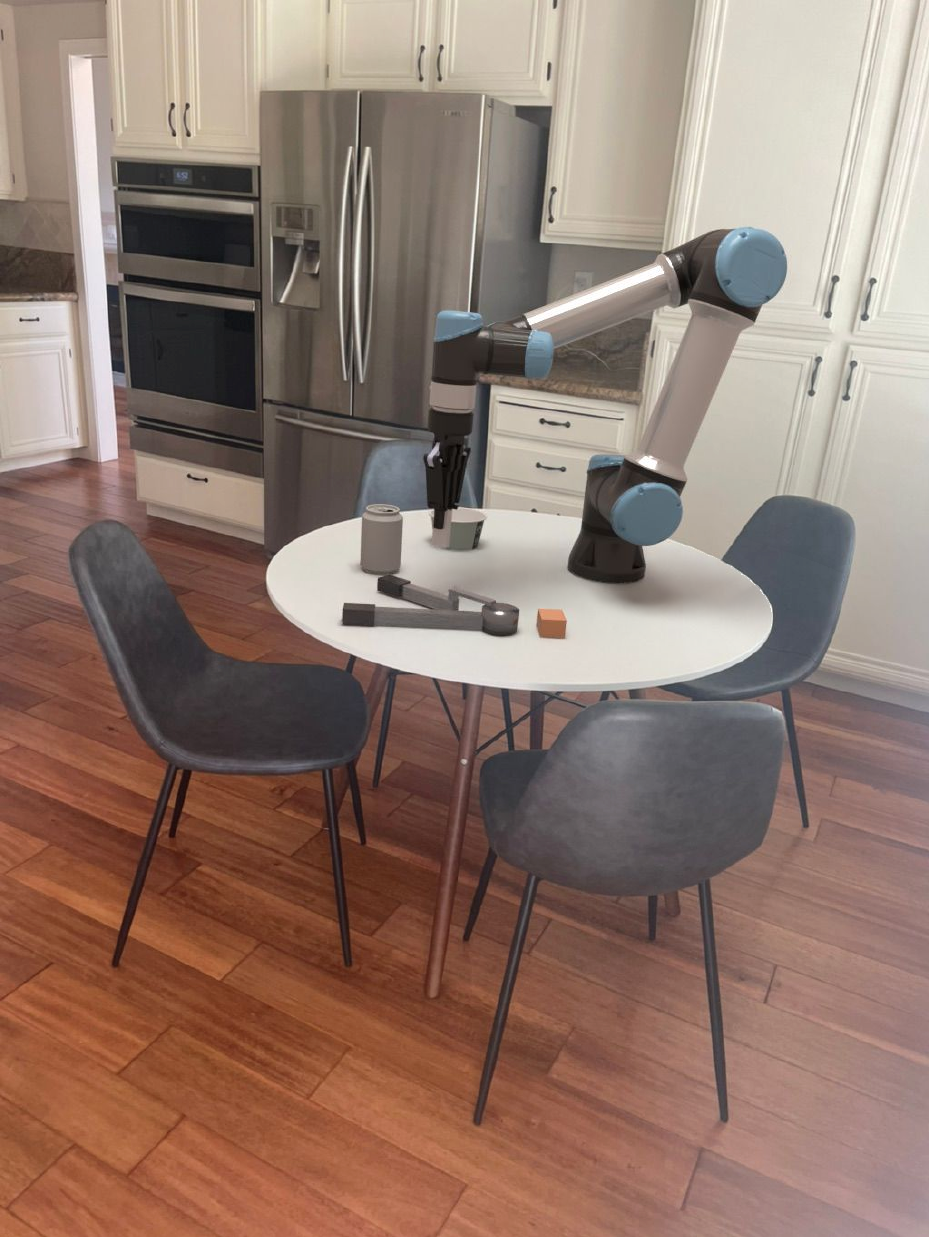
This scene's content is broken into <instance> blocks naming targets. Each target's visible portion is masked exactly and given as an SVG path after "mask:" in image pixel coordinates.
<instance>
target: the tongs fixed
mask: <svg viewBox="0 0 929 1237" xmlns="http://www.w3.org/2000/svg"><path fill="white" fill-rule="evenodd" d="M519 616H520V609H519V608H518V607H517V606H515V605H514V604H510V603H506V602H496V604H494V605H492V606H489V605H486V604H483V605H482V607H481V611H475V610H474V611H473V610H471V611H470V610H459V611H455V610H437V609H434V608H431V609H429V608H410V607H408V608H407V607H394V606H393V607H391V606H390V607H389V606H376V604H374V603H359V602H357V603H356V602H343V606H342V616H341V618H342V619H341V626H350V627H351V626H352V627H367V628H369V627H370V628H371V627H395V628H415V629H416V628H417V629H419V628H420V629H437V630H438V629H439V630H458V631H459V630H460V631H475V632H476V631H477V632H478V631H479V632H480V631H482V633H484V634H487V635H490V636H494V637H510V636H514V635H516V634H517V633H518V630H519V629H518V628H519V627H518V626H519V618H520V617H519Z"/></svg>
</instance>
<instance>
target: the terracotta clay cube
mask: <svg viewBox="0 0 929 1237" xmlns="http://www.w3.org/2000/svg"><path fill="white" fill-rule="evenodd" d="M567 622H568V620H567V618H566V616H565V613H564V611H563V609H556V608H555V609H554V608H553V609H552V608H537V615H536V623H535V624H536V625H535V626H536V629H537V632H538V636H539V638H550V639H551V638H556V639H566V632H567Z"/></svg>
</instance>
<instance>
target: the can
mask: <svg viewBox="0 0 929 1237" xmlns="http://www.w3.org/2000/svg"><path fill="white" fill-rule="evenodd" d="M400 509H401V508H400V507H398V506H396V505H391V504H384V503H382V504H381V503H379V504H376V503H375V504H369V505H367V506H366V507H365V512H363V513H362V515H361V532H360V533H361V534H360V535H361V537H360V538H361V540H360V541H361V542H360V563H359V564H360V566H361V568H363V570H364V571H365V572H367V573H370V574H374V575H382V576H385V575H389V574H390V575H392V574H394V573H395V572H396V571H398V570H399V569H400V568H401V567H402V566H401V565H402V564H401V563H402V546H403V544H402V542H403V525H404V524H403V523H404V517H403V515H402V514H401V513H400V511H401V510H400Z"/></svg>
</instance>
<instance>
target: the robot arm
mask: <svg viewBox="0 0 929 1237" xmlns="http://www.w3.org/2000/svg"><path fill="white" fill-rule="evenodd" d="M784 249H785V248H784V247H783V245H782V243H781V241H779V239H778V238H777V237H776V236H775V235H774V234H772V233H770V232H769V231H766V230H764V229H761V228H754V227H751V226H744V227H738V228H726V229H725V228H721V229H715V230H710V231H708V232H706V233H703V234H702V235H699V236H697V237H695V238H693V239H691V240H689V241H687V242H685V243H683V244H680V245H678V246H676V247H673V248H672V249H670V250H668V251H666V252H662V253H660V254H658V255H657V256H656V258H655V260H654V262H653V263H651V264H648V265H646V266H643V267H641V268H639V269H636V270H633V271H629V272H628V273H625V274H623V275H620V276H617V277H614V278H612V279H610V280H608V281H605V282H602V283H600V284H597V285H595V286H592V287H589V288H587V289H585V290H582V291H579V292H576V293H574V294H571V295H569V296H566V297H564V298H561V299H559V300H556V301H554V302H551V303H548V304H545V305H544V306H540V307H538V308H535V309H532V310H531V311H527V312H526V313H523V314H521V315H519V316H515V317H513V318H510V319H507V320H505V321H495V322H493V323H491V324H488V325H484V323H483V316H482V315H481V314H480V313H478V312H471V311H462V310H442V311H440V312H438V314H437V316H436V320H435V329H434V337H433V345H432V346H433V347H432V359H431V360H432V362H431V377H430V380H431V381H430V385H429V388H428V389H429V391H430V393H429V405H430V406H431V407H430V408H429V409H428V413H427V414H428V415H427V430H428V431H429V432H431V433H432V434H433V435H434V436H433V440H432V444H431V449H432V450H431V452H430V453H424V454H423V459H422V460H423V463H424V467H425V480H426V481H425V482H426V484H425V485H426V502H427V504H426V505H427V507H428V508H429V509H430V510H432V509H434V519H433V530H432V532H431V533H432V534H431V535H432V536H431V544H430V545H431V546H435V547H438V548H440V547H443V548H442V549H444V548H446V547H449V541H450V530H451V518H452V509H455V510H457V509H458V507H460V506H459V505H457V504H459V503H460V501H461V496H462V491H463V486H464V479H465V476H466V469H467V464H468V460H469V458H470V455H471V452H472V449H471V447H468V446H466V445H465V442H466V440H465V437H467V436H470V435H471V434H472V433H473V428H474V426H473V425H474V418H475V417H474V416H475V415H474V414H475V413H473V411H472V410H473V409H474V408H476V406H475V405H476V397H477V396H476V394H477V381H478V380H477V379H478V376H479V375H480V374H481V375H492V376H503V377H515V378H524V379H525V378H526V379H528V380H530V379H544V378H546V377H547V376H548V375H549V374H550V373H551V372H550V371H551V369H552V366H553V360H554V351H555V349H557V348H560V347H563V346H566V345H568V344H571V343H572V342H573V343H574V342H575V341H578V340H580V339H584V338H586V337H588V336H592V335H594V334H597V333H599V332H601V331H604V330H606V329H610V328H612V327H614V326H618V325H619V324H622V323H626V322H628V321H630V320H633V319H635V318H637V317H641V316H643V315H645V314H648V313H650V312H653V311H656V310H659V309H661V308H664V307H666V306H668V307H670V308H672V309H677V308H680V307H682V306H685V305H688V306H689V309H690V311H691V316H690V318H689V321H688V323H687V326H686V329H685V331H684V333H683V337H682V338H681V341H680V343H679V346H678V348H677V351H676V353H675V356H674V357H673V360H672V363H671V365H670V368H669V370H668V373H667V375H666V377H665V380H664V382H663V386H662V387H661V390H660V392H659V395H658V397H657V400H656V402H655V403H654V407H653V410H652V412H651V413H650V417H649V419H648V421H647V424H646V427H645V429H644V431H643V435H642V437H641V440H640V441H639V444H638V446H637V448H636V449H635V450H634V451H632V452H630V453H627V454H609V453H608V454H605V453H604V454H601V453H600V454H594V455H593V456H591V457H590V459H589V461H588V466H587V467H588V468H587V469H586V480H585V481H586V483H585V491H584V498H583V508H582V517H581V518H582V519H581V526H580V530H579V534H578V536H577V538H576V539H575V542H574V545H573V546H572V549H571V551H570V553H569V555H568V560H567V570H568V571H569V572H570V573H571V574H573V575H575V576H577V577H579V578H582V579H585V580H589V581H594V582H599V583H606V584H631V583H636V582H640V581H642V580H644V578H645V576H646V568H647V566H646V565H647V563H646V559H645V553H644V548H643V547H651V546H655V545H657V544H660V543H663V542H664V541H666V540H668V539H670V537H671V536H672V535H674V534H675V532H676V531H677V529H678V528H679V527H680V525H681V522H682V518H683V515H684V514H683V513H684V510H683V503H682V500H681V496H682V494H683V491H684V489H685V487H686V484H687V482H688V477H687V474H686V472H685V463H686V462H687V459H688V457H689V454H690V452H691V450H692V447H693V444H694V442H695V440H696V438H697V436H698V433H699V431H700V429H701V426H702V424H703V422H704V419H705V416H706V414H707V412H708V409H709V408H710V405H711V403H712V401H713V398H714V395H715V393H716V391H717V389H718V386H719V383H720V381H721V379H722V377H723V375H724V373H725V370H726V367H727V365H728V363H729V360H730V358H731V355H732V353H733V350H734V349H735V346H736V344H737V343H738V339H739V337H740V334H741V333H742V332H743V331H744V330H746V329H749V328H751V327H752V326H755V323H756V321H757V318H758V316H759V314H760V312H761V309H762V306H763V305H765V304H767V303H769V302H770V301H771V300H773V299H774V298H775V297H776V296H777V295H778V294H779V292H780V291H781V289H782V288H783V286H784V283H785V281H786V278H787V272H788V260H787V259H788V258H787V254H786V252H785V250H784Z"/></svg>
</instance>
